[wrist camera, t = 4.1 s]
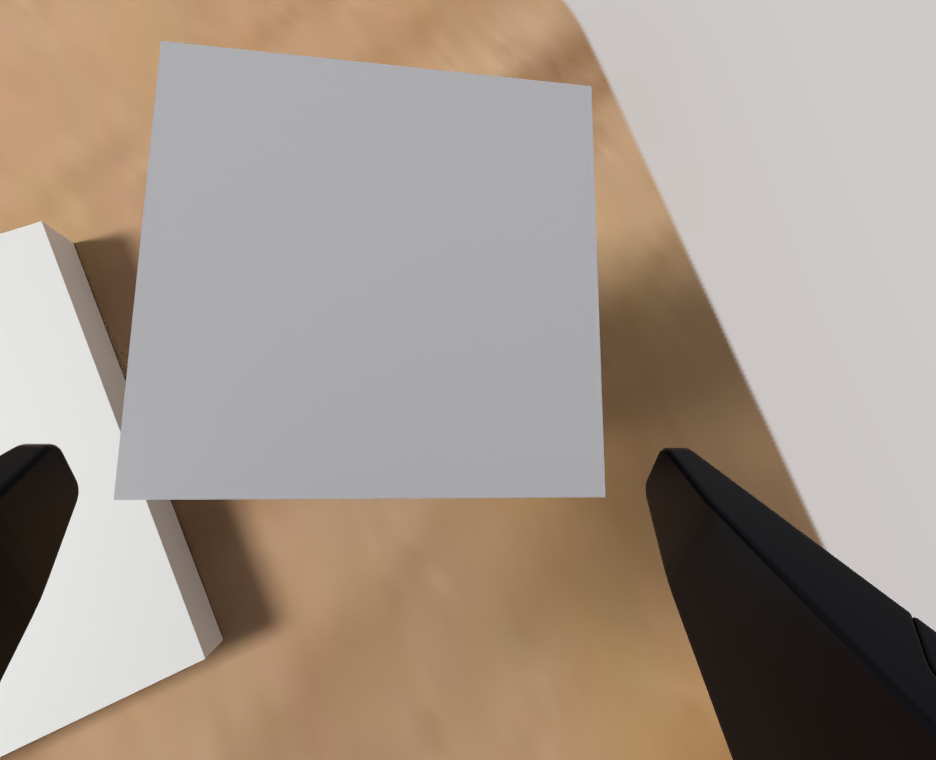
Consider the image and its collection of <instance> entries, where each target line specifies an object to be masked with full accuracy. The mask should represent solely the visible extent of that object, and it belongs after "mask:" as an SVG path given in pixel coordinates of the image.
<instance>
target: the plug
mask: <svg viewBox="0 0 936 760" xmlns="http://www.w3.org/2000/svg"><path fill="white" fill-rule="evenodd" d="M552 497H605V471H604V442H603V413H602V384H601V355H600V326H599V297H598V268H597V239H596V210H595V181H594V152H593V123H592V94H591V86H583V85H574V84H565V83H555V82H546V81H536V80H527V79H517V78H508V77H498V76H489V75H479V74H470V73H460V72H451V71H441V70H432V69H423V68H413V67H404V66H394V65H385V64H375V63H366V62H356V61H347V60H337V59H328V58H318V57H309V56H299V55H290V54H280V53H271V52H262V51H252V50H243V49H233V48H224V47H214V46H205V45H195V44H186V43H176V42H167V41H161V47H160V57H159V66H158V76H157V86H156V95H155V105H154V115H153V124H152V134H151V144H150V153H149V163H148V173H147V182H146V192H145V202H144V211H143V221H142V231H141V240H140V250H139V260H138V269H137V279H136V289H135V298H134V308H133V318H132V327H131V337H130V347H129V356H128V366H127V376H126V385H125V395H124V405H123V414H122V424H121V433H120V443H119V453H118V462H117V472H116V482H115V491H114V500H211V499H382V498H552Z"/></svg>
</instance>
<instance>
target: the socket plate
mask: <svg viewBox="0 0 936 760" xmlns="http://www.w3.org/2000/svg"><path fill="white" fill-rule="evenodd" d="M125 385H126V381H125V379H124V376H123V373H122V371H121V368H120V365H119V363H118V360H117V358H116V355H115V352H114V350H113V347H112V344H111V342H110V339H109V336H108V334H107V331H106V328H105V326H104V323H103V320H102V318H101V315H100V313H99V310H98V307H97V305H96V302H95V299H94V297H93V294H92V291H91V289H90V286H89V283H88V281H87V278H86V276H85V273H84V270H83V268H82V265H81V262H80V260H79V257H78V254H77V252H76V249H75V246H74V244H73V242H72V241H70V240H69V239H67V238H66V237H64V236H63V235H61V234H60V233H58V232H57V231H55V230H54V229H52V228H51V227H49V226H48V225H46V224H45V223H43V222H42V221H41V222H38V223H34V224H31V225H28V226H25V227H21V228H18V229H15V230H12V231H8V232H5V233H2V234H0V455H2V454H3V453H5V452H7V451H9V450H10V449H12V448H14V447H16V446H18V445H21V444H53V445H56V446H57V447H59V448H60V449H61V451H62V452H63V454H64V456H65V458H66V460H67V462H68V464H69V466H70V468H71V470H72V472H73V474H74V476H75V478H76V480H77V483H78V488H79V494H78V499H77V503H76V505H75V508H74V511H73V514H72V516H71V519H70V522H69V525H68V527H67V530H66V533H65V536H64V538H63V541H62V544H61V546H60V549H59V552H58V555H57V557H56V560H55V563H54V566H53V568H52V571H51V574H50V577H49V579H48V582H47V585H46V587H45V590H44V592H43V595H42V597H41V600H40V602H39V604H38V606H37V608H36V610H35V613H34V615H33V617H32V619H31V621H30V623H29V625H28V627H27V629H26V631H25V633H24V635H23V637H22V639H21V641H20V643H19V645H18V647H17V649H16V651H15V653H14V655H13V657H12V659H11V661H10V663H9V665H8V667H7V669H6V671H5V673H4V675H3V677H2V680H1V682H0V757H1V756H3V755H5V754H7V753H9V752H12V751H14V750H16V749H18V748H20V747H22V746H24V745H26V744H28V743H30V742H32V741H35V740H37V739H39V738H41V737H43V736H45V735H47V734H49V733H51V732H53V731H55V730H58V729H60V728H62V727H64V726H66V725H68V724H70V723H72V722H74V721H76V720H78V719H81V718H83V717H85V716H87V715H89V714H91V713H93V712H95V711H97V710H99V709H101V708H104V707H106V706H108V705H110V704H112V703H114V702H116V701H118V700H120V699H122V698H124V697H127V696H129V695H131V694H133V693H135V692H137V691H139V690H141V689H143V688H145V687H147V686H150V685H152V684H154V683H156V682H158V681H160V680H162V679H164V678H166V677H168V676H170V675H173V674H175V673H177V672H179V671H181V670H183V669H185V668H187V667H189V666H191V665H193V664H195V663H198V662H200V661H202V660H204V659H206V658H207V656H208V655H209V654H210V653H211V652H212V651H213V650H214V649H215V648H216V647H217V646H218V645H219V644H220V643H221V642H222V641H223V638H222V635H221V632H220V630H219V627H218V625H217V622H216V619H215V617H214V614H213V611H212V609H211V606H210V603H209V601H208V598H207V595H206V593H205V590H204V588H203V585H202V582H201V580H200V577H199V574H198V572H197V569H196V566H195V564H194V561H193V558H192V556H191V553H190V551H189V548H188V545H187V543H186V540H185V537H184V535H183V532H182V529H181V527H180V524H179V521H178V519H177V516H176V513H175V511H174V508H173V506H172V503H171V500H114V491H115V482H116V472H117V462H118V453H119V443H120V433H121V424H122V414H123V405H124V395H125Z"/></svg>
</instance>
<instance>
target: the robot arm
mask: <svg viewBox="0 0 936 760" xmlns="http://www.w3.org/2000/svg"><path fill="white" fill-rule="evenodd" d="M78 494H79V488H78V483H77V480H76V478H75V476H74V474H73V472H72V470H71V468H70V466H69V464H68V462H67V460H66V458H65V456H64V454H63V452H62V451H61V449H60V448H59V447H57V446H56V445H53V444H21V445H18V446H16V447H14V448H12V449H10V450H9V451H7V452H5V453H3V454H2V455H0V682H1V680H2V677H3V675H4V673H5V671H6V669H7V667H8V665H9V663H10V661H11V659H12V657H13V655H14V653H15V651H16V649H17V647H18V645H19V643H20V641H21V639H22V637H23V635H24V633H25V631H26V629H27V627H28V625H29V623H30V621H31V619H32V617H33V615H34V613H35V610H36V608H37V606H38V604H39V602H40V600H41V597H42V595H43V592H44V590H45V587H46V585H47V582H48V579H49V577H50V574H51V571H52V568H53V566H54V563H55V560H56V557H57V555H58V552H59V549H60V546H61V544H62V541H63V538H64V536H65V533H66V530H67V527H68V525H69V522H70V519H71V516H72V514H73V511H74V508H75V505H76V503H77V499H78ZM646 497H647V501H648V505H649V509H650V513H651V517H652V521H653V525H654V529H655V533H656V537H657V541H658V545H659V549H660V553H661V557H662V561H663V565H664V569H665V573H666V576H667V580H668V583H669V586H670V589H671V592H672V595H673V598H674V600H675V603H676V606H677V609H678V611H679V614H680V617H681V619H682V622H683V625H684V628H685V630H686V633H687V636H688V639H689V641H690V644H691V647H692V650H693V652H694V655H695V658H696V660H697V663H698V666H699V669H700V671H701V674H702V677H703V680H704V682H705V685H706V688H707V690H708V693H709V696H710V699H711V701H712V704H713V707H714V710H715V712H716V715H717V718H718V720H719V723H720V726H721V729H722V731H723V734H724V737H725V740H726V742H727V745H728V748H729V751H730V753H731V756H732V759H733V760H936V632H935V631H934V630H932V629H931V628H930V627H928V626H927V625H926V624H924V623H923V622H922V621H920V620H919V619H917V618H912V616H911V614H910V613H909V612H908V611H906V610H905V609H904V608H903V607H901V606H900V605H898V604H897V603H896V602H894V601H893V600H892V599H890V598H889V597H887V596H886V595H885V594H884V593H882V592H881V591H880V590H878V589H877V588H876V587H874V586H873V585H872V584H870V583H869V582H867V581H866V580H865V579H864V578H862V577H861V576H859V575H858V574H857V573H856V572H854V571H853V570H851V569H850V568H849V567H847V566H846V565H845V564H843V563H842V562H841V561H839V560H838V559H837V558H835V557H834V556H833V555H831V554H830V553H829V552H827V551H826V550H825V549H823V548H822V547H821V546H819V545H818V544H817V543H815V542H814V541H813V540H811V539H810V538H808V537H807V536H806V535H804V534H803V533H802V532H800V531H799V530H798V529H796V528H795V527H794V526H792V525H791V524H790V523H788V522H787V521H786V520H784V519H783V518H782V517H780V516H779V515H778V514H776V513H775V512H774V511H772V510H771V509H769V508H768V507H767V506H765V505H764V504H763V503H761V502H760V501H759V500H757V499H756V498H755V497H753V496H752V495H751V494H749V493H748V492H747V491H745V490H744V489H743V488H741V487H740V486H739V485H737V484H736V483H735V482H733V481H732V480H731V479H729V478H728V477H726V476H725V475H724V474H722V473H721V472H720V471H718V470H717V469H716V468H714V467H713V466H712V465H710V464H709V463H708V462H706V461H705V460H704V459H702V458H701V457H700V456H698V455H697V454H696V453H694V452H693V451H691V450H690V449H687V448H665V449H663V450H662V451H660V453H659V455H658V457H657V459H656V461H655V464H654V466H653V468H652V470H651V473H650V475H649V477H648V479H647V482H646Z"/></svg>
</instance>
